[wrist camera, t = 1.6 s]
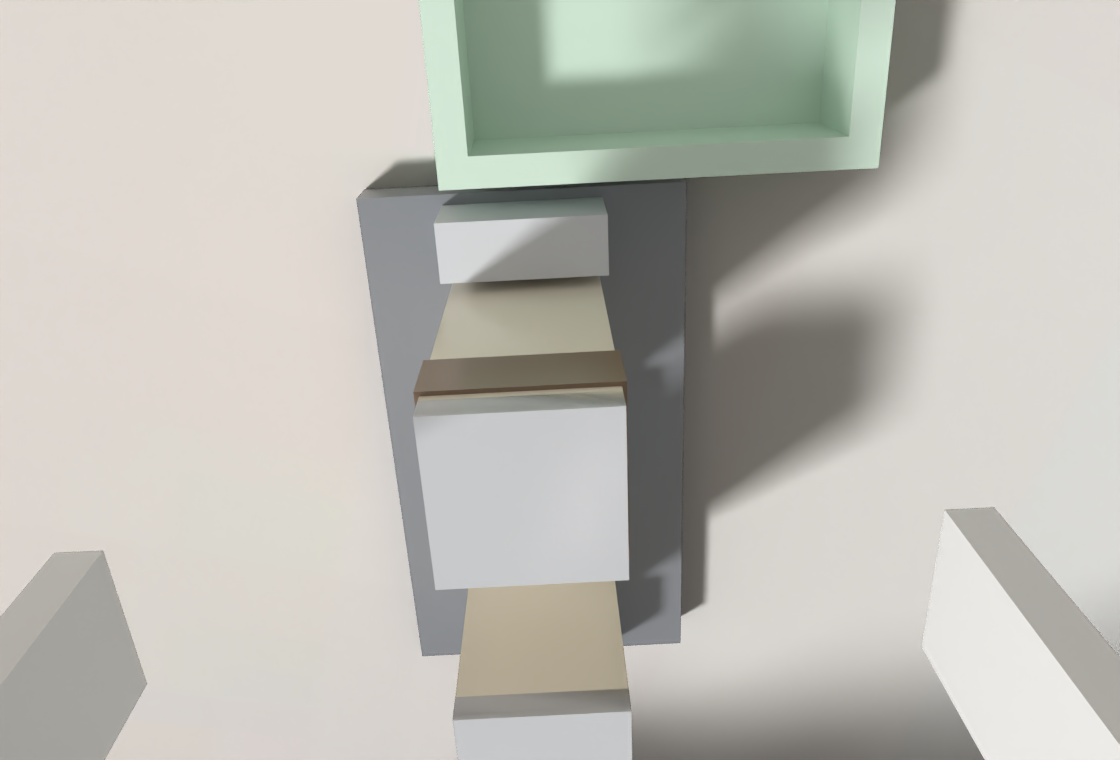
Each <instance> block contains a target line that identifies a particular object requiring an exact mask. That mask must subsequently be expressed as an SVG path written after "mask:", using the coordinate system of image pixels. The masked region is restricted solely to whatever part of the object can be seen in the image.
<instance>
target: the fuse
mask: <svg viewBox="0 0 1120 760" xmlns="http://www.w3.org/2000/svg"><path fill="white" fill-rule="evenodd" d="M453 728H454V735H455V743H456V751H457V758H458V760H632V719H631V704H630V696H629V689H628V681H627V673H626V665H625V657H624V649H623V641H622V633H621V625H620V617H619V609H618V601H617V593H616V585H615V581H602V582H583V583H563V584H544V585H524V586H504V587H485V588H468V595H467V604H466V612H465V621H464V629H463V637H462V646H461V654H460V662H459V671H458V679H457V687H456V696H455V704H454V713H453Z"/></svg>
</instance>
